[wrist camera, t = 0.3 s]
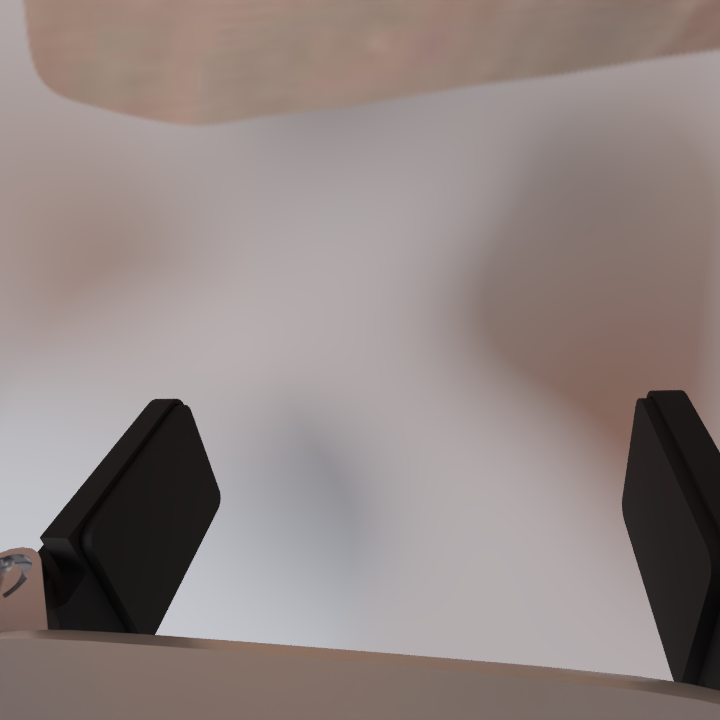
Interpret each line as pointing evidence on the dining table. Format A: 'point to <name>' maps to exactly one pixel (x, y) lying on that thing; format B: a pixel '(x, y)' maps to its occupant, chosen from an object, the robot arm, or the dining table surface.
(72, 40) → the dining table surface
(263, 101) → the dining table surface
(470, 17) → the dining table surface
